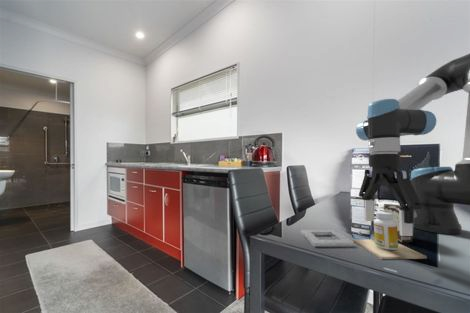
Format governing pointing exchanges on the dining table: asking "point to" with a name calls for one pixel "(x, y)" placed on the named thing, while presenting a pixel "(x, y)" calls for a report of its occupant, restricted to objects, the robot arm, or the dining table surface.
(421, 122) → the robot arm
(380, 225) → the supplement bottle
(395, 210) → the food container
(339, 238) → the grey square frame
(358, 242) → the oak pad
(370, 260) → the dining table surface
